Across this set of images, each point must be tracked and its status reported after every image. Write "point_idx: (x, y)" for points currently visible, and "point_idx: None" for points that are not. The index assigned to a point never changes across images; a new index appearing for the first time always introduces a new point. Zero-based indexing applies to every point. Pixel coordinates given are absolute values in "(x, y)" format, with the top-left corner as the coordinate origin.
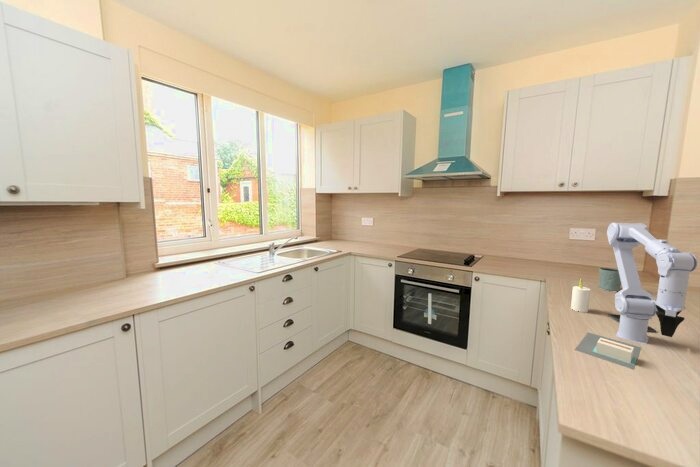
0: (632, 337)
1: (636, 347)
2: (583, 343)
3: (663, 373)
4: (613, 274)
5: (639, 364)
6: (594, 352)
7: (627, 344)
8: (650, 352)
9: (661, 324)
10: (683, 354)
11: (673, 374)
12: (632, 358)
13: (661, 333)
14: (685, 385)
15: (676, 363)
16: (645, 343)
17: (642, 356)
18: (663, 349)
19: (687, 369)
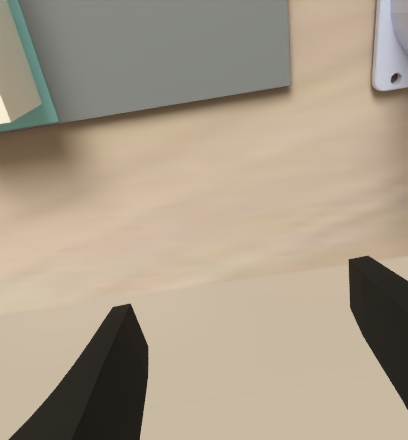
0: (404, 5)
1: (260, 67)
2: None
3: (40, 228)
4: None
5: (23, 141)
6: None
7: (266, 10)
8: (279, 130)
9: (53, 401)
10: (399, 226)
11: (77, 251)
12: None
13: (108, 314)
14: (12, 292)
15: (234, 233)
16: (400, 82)
17: (165, 120)
18: (398, 159)
19: (202, 268)
